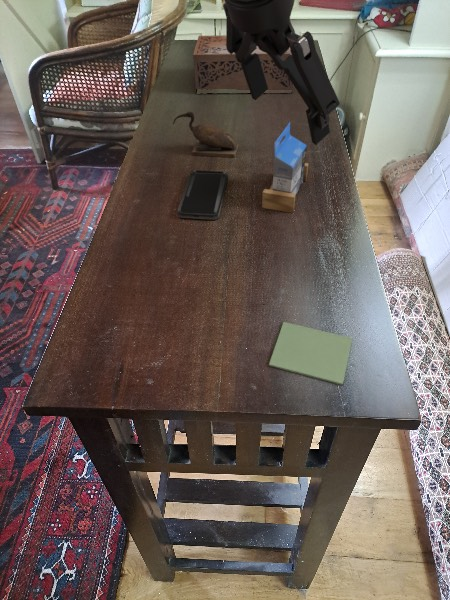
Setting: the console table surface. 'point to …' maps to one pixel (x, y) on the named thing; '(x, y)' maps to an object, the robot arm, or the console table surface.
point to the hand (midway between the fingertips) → (289, 114)
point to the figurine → (211, 140)
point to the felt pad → (311, 353)
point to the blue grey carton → (288, 163)
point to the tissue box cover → (232, 67)
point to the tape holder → (281, 197)
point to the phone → (203, 195)
